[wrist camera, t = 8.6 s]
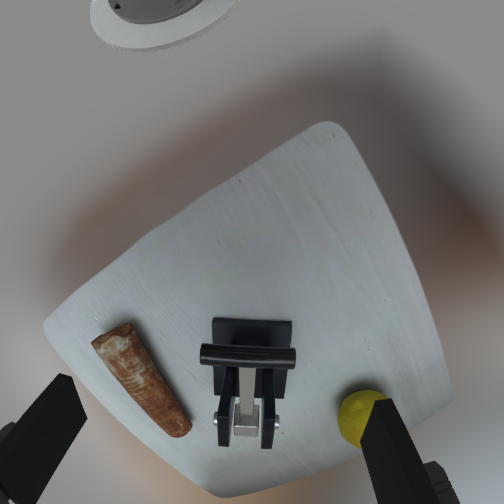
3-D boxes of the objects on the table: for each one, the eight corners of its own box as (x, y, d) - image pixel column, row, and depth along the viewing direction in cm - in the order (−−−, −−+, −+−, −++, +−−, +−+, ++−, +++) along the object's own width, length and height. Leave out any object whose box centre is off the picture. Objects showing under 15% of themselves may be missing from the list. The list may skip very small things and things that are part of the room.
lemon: (324, 389, 37) (335, 431, 29) (378, 366, 36) (398, 403, 28) (344, 433, 39) (355, 471, 31) (391, 413, 38) (407, 448, 30)
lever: (203, 332, 19) (197, 362, 17) (295, 337, 19) (296, 367, 17) (216, 413, 27) (214, 434, 25) (277, 416, 27) (277, 437, 25)
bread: (136, 313, 35) (118, 334, 29) (200, 421, 39) (194, 448, 33) (99, 324, 35) (79, 344, 30) (165, 427, 39) (156, 452, 34)
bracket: (213, 317, 34) (190, 385, 22) (291, 321, 34) (304, 391, 22) (215, 389, 37) (199, 462, 25) (283, 393, 37) (288, 467, 24)
